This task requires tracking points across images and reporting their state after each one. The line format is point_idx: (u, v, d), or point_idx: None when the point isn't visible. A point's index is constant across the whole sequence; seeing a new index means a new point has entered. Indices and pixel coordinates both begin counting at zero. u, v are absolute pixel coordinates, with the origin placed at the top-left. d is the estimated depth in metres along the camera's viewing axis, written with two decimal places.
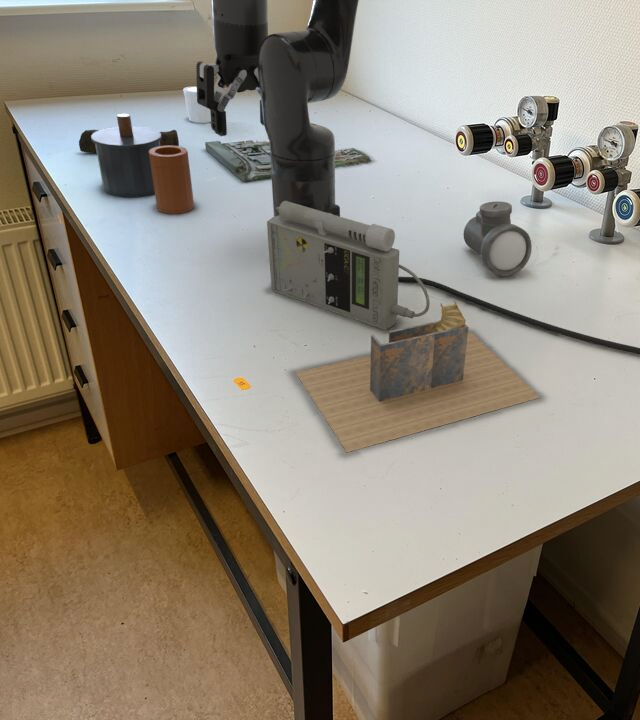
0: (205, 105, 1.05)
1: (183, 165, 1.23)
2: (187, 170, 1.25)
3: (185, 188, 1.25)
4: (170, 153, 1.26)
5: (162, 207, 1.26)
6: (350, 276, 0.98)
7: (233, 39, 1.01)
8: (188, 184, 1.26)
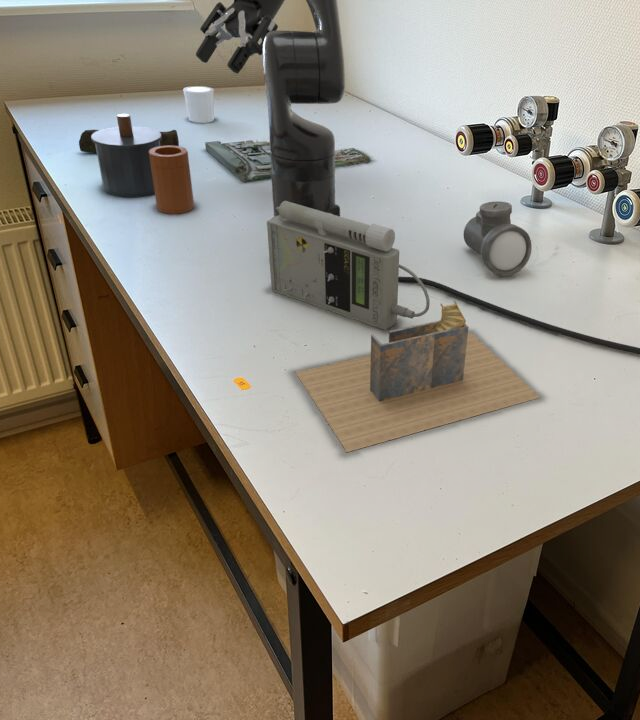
0: None
1: (183, 165, 1.23)
2: (187, 170, 1.25)
3: (185, 188, 1.25)
4: (170, 153, 1.26)
5: (162, 207, 1.26)
6: (350, 276, 0.98)
7: None
8: (188, 184, 1.26)
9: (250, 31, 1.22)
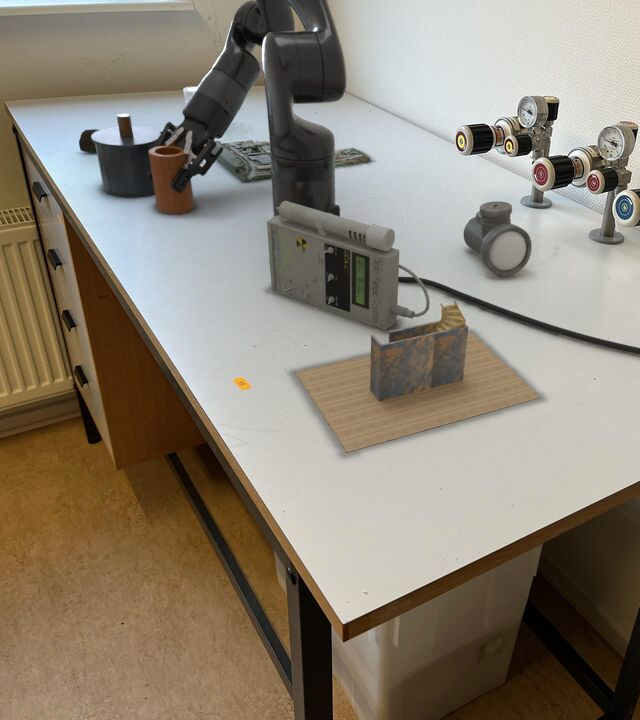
0: None
1: None
2: None
3: (185, 188, 1.25)
4: (170, 153, 1.26)
5: (162, 207, 1.26)
6: (350, 276, 0.98)
7: None
8: (188, 184, 1.26)
9: (198, 150, 1.25)
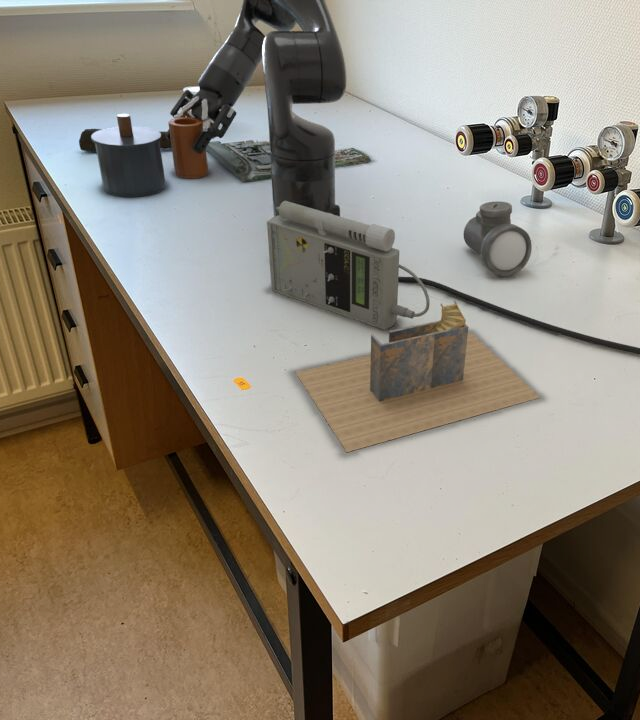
0: None
1: None
2: None
3: (200, 155, 1.40)
4: (187, 124, 1.40)
5: (180, 172, 1.41)
6: (350, 276, 0.98)
7: None
8: (203, 152, 1.41)
9: (212, 117, 1.39)
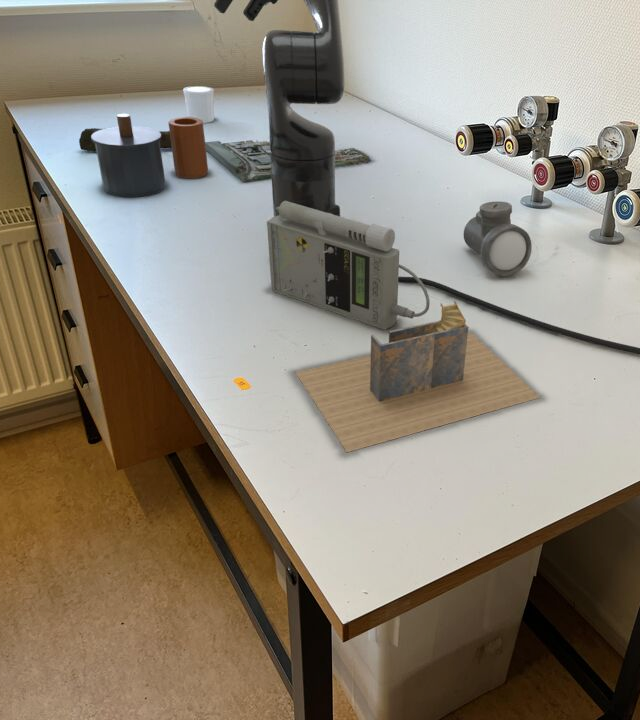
0: None
1: (199, 134, 1.38)
2: (202, 139, 1.39)
3: (200, 155, 1.40)
4: (187, 124, 1.40)
5: (180, 172, 1.41)
6: (350, 276, 0.98)
7: None
8: (203, 152, 1.41)
9: None
